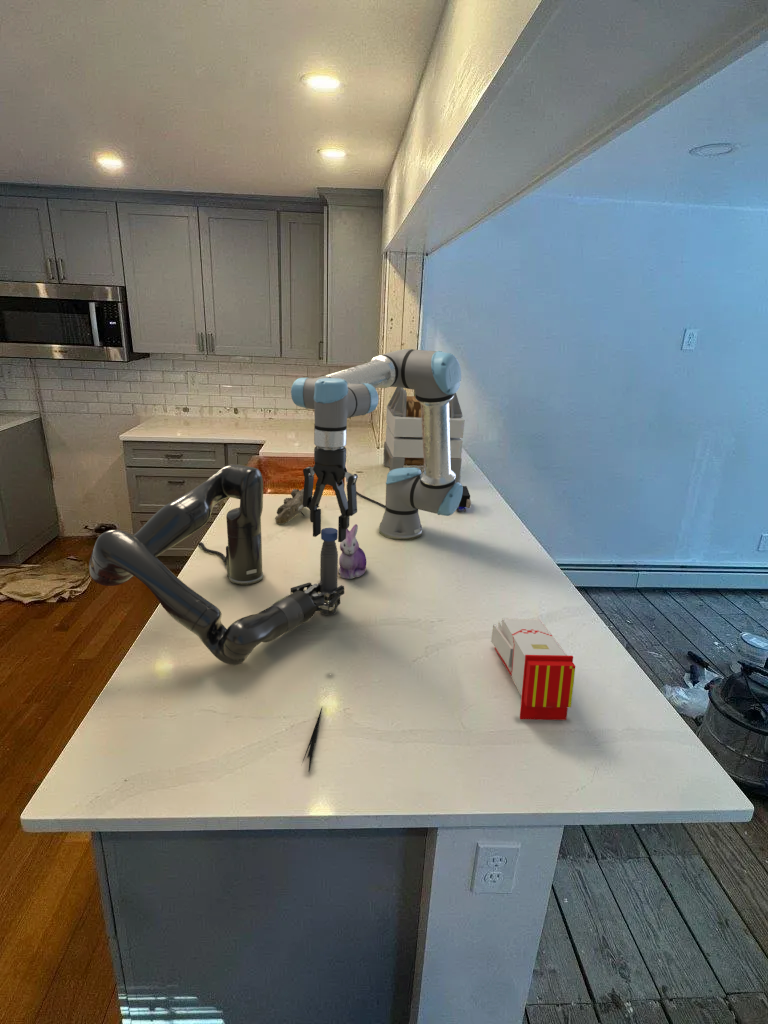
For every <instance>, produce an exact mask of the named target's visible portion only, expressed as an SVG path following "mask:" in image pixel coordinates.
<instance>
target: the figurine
mask: <svg viewBox="0 0 768 1024" xmlns="http://www.w3.org/2000/svg"><path fill="white" fill-rule="evenodd" d="M358 529H359V525H358V524H357V523H355V524H354V525H353V526H352V528H351V529H350V530H349V527H348V528H347V529H346V539H345V540H343V541H342V542H339V543H340V544H339V550H340V551H341V553H340V555H339V557H338V564H339V565H338V566H339V567H338V573H339V577H340V578H342V579H349V580H351V579H354V578H359V577H361V576H362V575H364V574H365V573H366V569H367V563H368V561H367V556H366V553H365V551H364V550H363V549H362V548H361V547H360V544H359V541H358V539H357V533H358Z"/></svg>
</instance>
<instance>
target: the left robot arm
mask: <svg viewBox="0 0 768 1024" xmlns="http://www.w3.org/2000/svg"><path fill="white" fill-rule="evenodd" d="M231 498H232V499H236V500H239V506H238V507H236V508H233V509H230V510H229V511H227V513H226V533H227V545H226V546H225V554H223V553H222V552H220V551H218V550H214V549H209V548H207V547H206V546H205V544H204V543H203V542H202V541H200V542H199V543H197V547H201V549H202V550H203V551H204V552H205V553H208V554H213V555H217V556H219V557H220V558H221V559H222V562H223V563H224V564H225V565H226V571H227V572H226V575H227V578H229V579H228V580H229V581H230V582H231V583H232V584H235V585H240V586H241V585H242V586H244V585H245V586H246V585H253V584H256V583H259V582H260V581H262V580H263V578H264V572H263V543H262V513H263V507H264V478H263V475H262V472H261V471H260V470H259V468H257V467H253V466H248V465H243V464H238V463H231V464H227V465H225V466H223V467H222V468H220V469H219V470H218V471H216V472H215V473H214V474H212V476H210V477H209V478H208V479H206V480H205V481H204V482H202V483H200V484H198V485H197V486H195V487H194V488H192V489H190V490H189V491H187V492H186V493H183V494H181V495H180V496H178V497H176V498H175V499H173V500H171V501H169V502H167V503H166V504H165V505H163V506H162V507H161V508H160V509H159V510H158V511H156V512H155V513H154V514H153V515H152V516H151V517H150V518H149V519H148V520H147V522H146V523H145V524H144V525H142V526H141V528H140V529H139V530H138V531H136V533H134V534H131V533H129V532H128V531H125V530H123V529H109V530H105V531H104V532H103V533H100V534H99V536H98V537H97V538H96V540H95V542H94V546H93V548H92V552H91V554H90V558H89V562H88V572H89V575H90V578H91V579H92V580H93V581H94V582H95V583H97V584H98V585H101V586H103V587H104V586H105V587H116V586H119V585H123V584H124V583H126V582H128V581H130V580H131V579H132V578H133V577H135V578H136V579H138V580H139V581H140V582H142V584H144V586H146V587H147V588H148V589H149V590H150V592H151V593H152V595H153V596H154V597H155V598H156V600H157V601H158V603H159V604H160V605H161V607H162V608H163V609H164V611H165V612H166V613H167V614H168V615H169V616H170V617H171V618H172V619H173V620H174V621H176V622H177V623H179V624H180V625H181V626H182V627H184V628H186V629H187V630H189V632H191V633H193V634H194V635H196V636H197V637H198V639H200V641H201V642H202V644H203V645H204V646H205V647H206V648H207V649H208V651H210V653H211V654H212V655H213V656H214V657H215V658H216V659H217V660H218V661H220V662H221V663H223V664H226V665H229V666H238V665H241V664H243V663H244V662H245V661H246V660H247V658H249V656H250V654H251V653H252V652H253V651H254V649H255V648H256V647H257V646H258V645H260V644H261V643H263V644H264V643H270V642H272V641H275V640H276V639H278V638H279V637H281V636H283V635H284V634H286V633H288V632H291V631H293V630H294V629H296V628H297V627H300V626H301V625H302V624H304V623H306V622H308V621H309V620H311V619H312V618H313V616H314V615H315V614H316V612H320V611H321V610H322V609H326V610H328V613H333V612H334V611H335V609H336V608H337V609H338V607H339V606H340V605H341V596H343V595H344V594H345V585H342V584H341V585H339V586H337V588H336V589H334V590H333V591H330V592H327V591H324V592H321V593H320V582H319V583H313V584H312V582H306V583H302V584H299V585H295V586H292V587H290V590H289V591H290V594H287V595H286V596H285V597H283V598H280V599H279V600H277V601H276V602H274V603H273V604H272V605H270V606H268V607H267V608H264V609H263V610H261V611H259V612H258V613H254V614H251V615H246V616H243V617H241V618H239V619H237V620H235V621H233V622H232V623H231V624H230V625H229V626H228V627H226V626H225V625H224V624H223V622H222V615H223V614H222V611H221V610H220V608H218V607H217V606H216V605H215V604H213V603H212V602H211V601H209V600H207V599H206V598H204V597H203V596H202V595H200V594H199V593H198V592H196V591H195V590H194V589H192V588H191V587H190V586H189V585H187V584H186V583H185V582H184V581H183V580H181V579H180V578H178V576H176V574H174V573H173V572H172V571H171V570H170V569H169V568H168V567H167V566H166V565H165V564H164V563H163V562H162V561H161V560H160V559H159V558H158V557H159V556H160V555H162V554H163V553H165V552H166V551H168V550H170V549H171V548H173V547H174V546H176V545H177V544H179V543H181V542H182V541H183V540H185V539H187V538H189V537H190V536H192V535H193V534H195V533H196V532H197V531H199V530H201V529H202V528H203V527H204V526H206V525H207V523H208V522H209V520H210V518H211V516H212V512H213V508H214V506H215V505H216V504H218V503H219V502H221V501H223V500H225V499H231ZM305 588H306V589H305ZM330 596H331V598H330V599H329V597H330Z"/></svg>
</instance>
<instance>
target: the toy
mask: <svg viewBox="0 0 768 1024" xmlns="http://www.w3.org/2000/svg"><path fill="white" fill-rule="evenodd" d="M490 638H491V639H490V642H491V644H492V646H493V647H494V650H495V652H496V654H497V655H498V657H499V659H500V660H501V662H502V664H503V666H504V667H505V669H506V671H507V672H508V674H509V676H510V677H511V679H512V681H513V683H514V685H515V688H516V690H517V691H518V693H519V695H520V697H521V698H520V710H519V719H520V720H534V721H535V720H539V721H567V716H568V708H572V701H573V692H574V684H575V674H576V673H575V672H576V665H575V663H574V656H573V655H568V654H567V653H566V652H565V650H564V649H563V648H562V646H561V645H560V644H559V643H558V641H557V640H556V639H555V637H554V636H553V634H552V633H551V632H550V631H549V629H548V628H547V626H546V624H545V623H543V621H542V620H541V619H540V618H505V617H503V618H501V620H498V622H497V624H495V623H493V624H492V632H491V637H490Z"/></svg>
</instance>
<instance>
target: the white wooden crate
mask: <svg viewBox="0 0 768 1024" xmlns="http://www.w3.org/2000/svg"><path fill="white" fill-rule="evenodd" d="M407 394H408V393H407V390H406V389H405V388H400V387H395V390H394V392H393V394H392V395H391V398H390V400H389V402H388V404H387V405H386V413H385V414H386V415H385V423H386V428H385V438H384V442H383V466H384V467H388V468H389V472H390V471H391V470H393V469H398V468H405V466H406V467H408V466H411V467H415V466H416V467H417V466H418V467H424V456H423V438H422V419H421V403H420V402H418V401H417V400H416V398H415V395H414V396H413V395H412V396H411V395H407ZM449 423H450V461H451V470H452V471H453V472H454V473H455V475H456V482H459V483H461V472H462V461H463V460H462V453H463V442H464V441H463V440H462V439H463V438H464V431H465V430H464V429H465V419H464V418H463V411H462V408H461V405H460V402H459V398H458V395H457V392H456V393H454V397H453V398H452V399H451V400H450V401H449Z"/></svg>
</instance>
